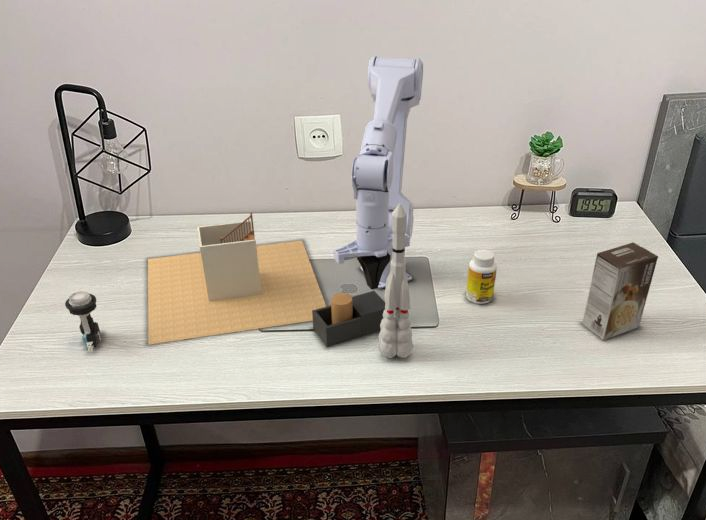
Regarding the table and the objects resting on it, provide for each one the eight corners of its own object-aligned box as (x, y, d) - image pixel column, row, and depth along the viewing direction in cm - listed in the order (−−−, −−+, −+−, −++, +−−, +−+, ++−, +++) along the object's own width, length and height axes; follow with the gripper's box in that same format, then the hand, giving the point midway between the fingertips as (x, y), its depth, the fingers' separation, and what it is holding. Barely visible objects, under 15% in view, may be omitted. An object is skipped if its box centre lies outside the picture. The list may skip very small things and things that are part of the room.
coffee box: (616, 311, 140) (634, 240, 130) (639, 328, 135) (660, 256, 125) (580, 324, 136) (596, 252, 126) (603, 341, 132) (621, 268, 122)
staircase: (262, 294, 145) (254, 221, 135) (209, 301, 143) (196, 228, 133) (257, 272, 152) (249, 202, 141) (206, 279, 149) (194, 208, 139)
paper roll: (348, 321, 136) (329, 326, 135) (347, 291, 132) (327, 295, 131) (356, 332, 133) (336, 337, 132) (355, 301, 129) (335, 306, 128)
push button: (105, 351, 129) (92, 307, 123) (75, 355, 128) (60, 310, 122) (108, 331, 134) (96, 287, 128) (79, 334, 134) (65, 290, 128)
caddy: (313, 329, 135) (311, 307, 132) (374, 311, 140) (374, 290, 137) (327, 347, 130) (325, 325, 127) (389, 328, 135) (390, 307, 132)
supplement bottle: (477, 308, 141) (482, 264, 134) (460, 295, 144) (464, 252, 138) (498, 299, 143) (504, 256, 137) (480, 287, 147) (485, 244, 141)
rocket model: (397, 370, 125) (401, 218, 107) (367, 352, 129) (366, 204, 111) (423, 351, 129) (431, 202, 111) (393, 335, 133) (397, 189, 115)
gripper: (345, 240, 118) (346, 306, 126) (419, 222, 123) (416, 287, 131) (328, 222, 123) (330, 288, 131) (400, 206, 128) (398, 269, 136)
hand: (372, 286), depth 132 cm, fingers closed
